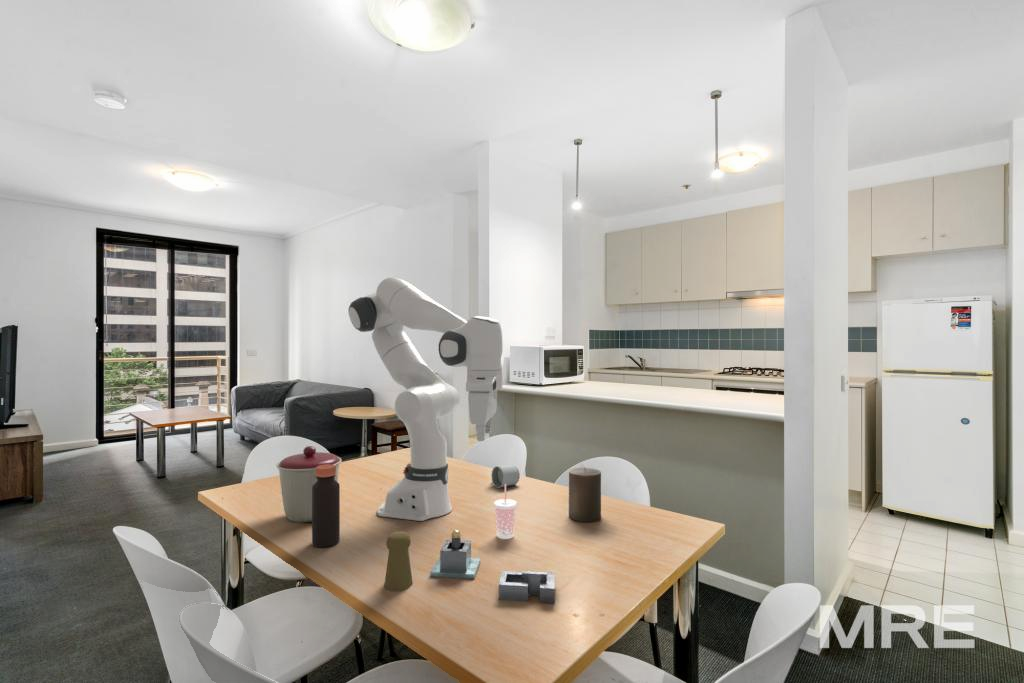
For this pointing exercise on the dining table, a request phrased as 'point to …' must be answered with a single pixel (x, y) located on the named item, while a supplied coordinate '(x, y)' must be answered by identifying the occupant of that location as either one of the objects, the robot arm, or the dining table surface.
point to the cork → (398, 562)
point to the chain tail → (527, 585)
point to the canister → (302, 481)
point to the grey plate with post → (456, 574)
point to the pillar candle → (585, 494)
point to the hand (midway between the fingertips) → (484, 436)
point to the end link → (455, 556)
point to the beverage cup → (505, 517)
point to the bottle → (325, 507)
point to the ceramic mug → (505, 475)
